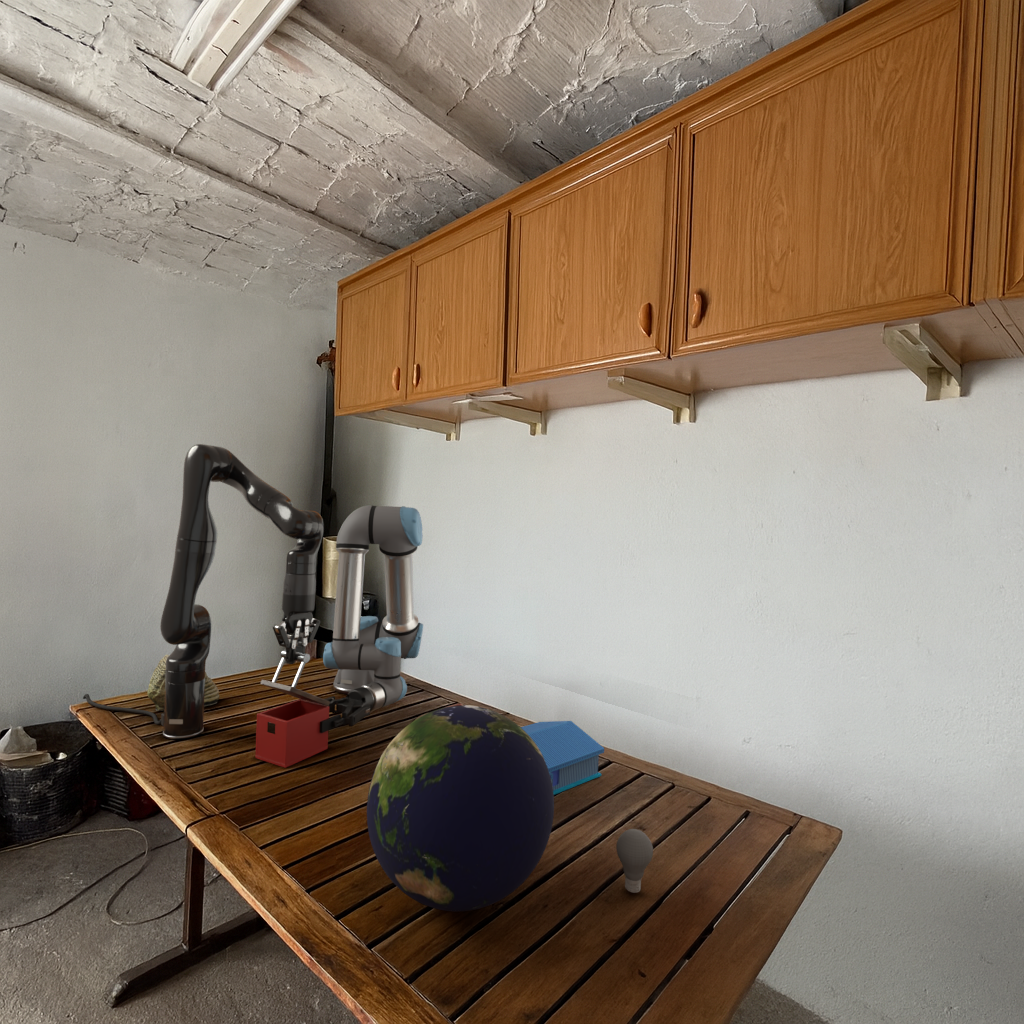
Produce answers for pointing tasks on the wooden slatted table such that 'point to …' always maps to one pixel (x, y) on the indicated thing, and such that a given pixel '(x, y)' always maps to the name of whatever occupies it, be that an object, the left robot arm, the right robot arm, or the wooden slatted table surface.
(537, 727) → the model building
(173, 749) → the wooden slatted table surface
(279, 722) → the chest
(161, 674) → the fossil
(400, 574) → the right robot arm
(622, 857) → the light bulb
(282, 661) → the lid
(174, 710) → the left robot arm
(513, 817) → the globe
